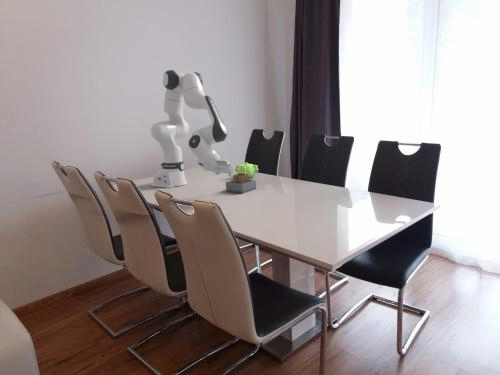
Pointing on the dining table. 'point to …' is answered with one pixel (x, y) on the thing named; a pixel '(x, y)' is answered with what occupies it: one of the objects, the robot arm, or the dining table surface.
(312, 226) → the dining table surface
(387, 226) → the dining table surface
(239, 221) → the dining table surface
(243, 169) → the teapot
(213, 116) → the robot arm
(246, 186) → the charcoal crate
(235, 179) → the walnut crate
